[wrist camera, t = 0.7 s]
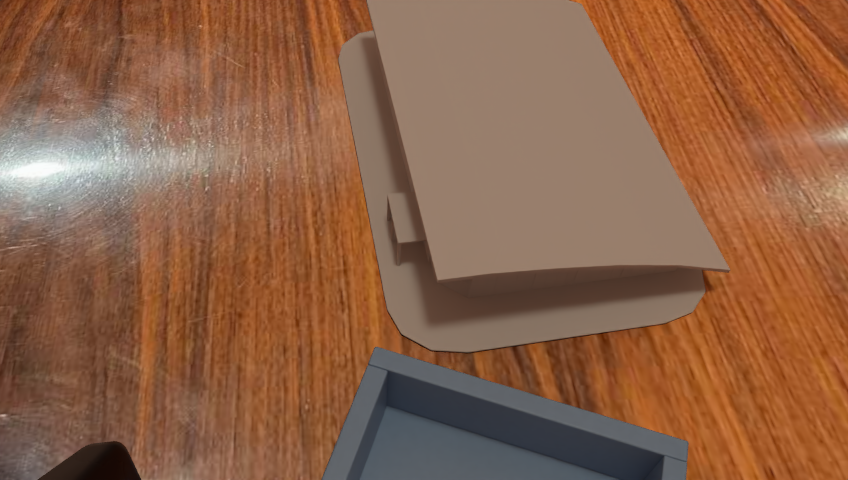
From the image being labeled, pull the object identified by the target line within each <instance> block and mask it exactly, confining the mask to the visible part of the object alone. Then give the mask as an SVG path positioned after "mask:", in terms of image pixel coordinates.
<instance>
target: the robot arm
mask: <svg viewBox="0 0 848 480" xmlns="http://www.w3.org/2000/svg"><path fill="white" fill-rule="evenodd" d="M38 480H141V478H140V476H139V474H138V472H137V470H136V468H135V465H134V463H133V461H132V459H131V457H130V455H129V453H128V451H127V449H126V447H125V446H124V445H123V444H122V443H120V442H117V441H112V442H103V443H94V444H89V445H87V446H85V447H83V448H82V449H80V450H79V451H77V452H76V453H75V454H73V455H72V456H70V457H69V458H68V459H66V460H65V461H63V462H62V463H60V464H59V465H58V466H56V467H55V468H53V469H52V470H51V471H49V472H48V473H46V474H45V475H43V476H42V477H41V478H39V479H38Z"/></svg>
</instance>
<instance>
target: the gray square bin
mask: <svg viewBox="0 0 848 480" xmlns="http://www.w3.org/2000/svg"><path fill="white" fill-rule="evenodd" d="M687 455H688V442H687V441H685V440H682V439H678V438H675V437H672V436H668V435H665V434H662V433H659V432H655V431H652V430H649V429H645V428H642V427H639V426H635V425H632V424H629V423H626V422H622V421H619V420H616V419H612V418H609V417H606V416H603V415H599V414H596V413H593V412H589V411H586V410H583V409H580V408H576V407H573V406H570V405H566V404H563V403H560V402H556V401H553V400H550V399H547V398H543V397H540V396H537V395H533V394H530V393H527V392H524V391H520V390H517V389H514V388H510V387H507V386H504V385H501V384H497V383H494V382H491V381H487V380H484V379H481V378H477V377H474V376H471V375H468V374H464V373H461V372H458V371H454V370H451V369H448V368H445V367H441V366H438V365H435V364H431V363H428V362H425V361H422V360H418V359H415V358H412V357H408V356H405V355H402V354H398V353H395V352H392V351H389V350H385V349H382V348H379V347H375V348H374V350H373V353H372V355H371V358H370V360H369V363H368V366H367V368H366V370H365V373H364V375H363V378H362V380H361V383H360V385H359V388H358V390H357V393H356V395H355V398H354V400H353V403H352V405H351V408H350V410H349V413H348V415H347V417H346V420H345V422H344V425H343V427H342V430H341V432H340V435H339V437H338V440H337V442H336V445H335V447H334V450H333V452H332V455H331V457H330V460H329V462H328V465H327V467H326V470H325V472H324V475H323V477H322V479H321V480H686V471H687V463H686V462H687Z"/></svg>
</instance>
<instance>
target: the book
mask: <svg viewBox="0 0 848 480" xmlns="http://www.w3.org/2000/svg"><path fill="white" fill-rule="evenodd" d="M366 2H367V6H368V10H369V14H370V18H371V22H372V26H373V31H368V32H364V33H359V34H357V35H356V36H354V37H353V38H351V39H350V40H349V41H347V42H346V43H344V44H343V45H342V48H341V51H340V55H339V59H338V60H339V66H340V71H341V76H342V81H343V86H344V91H345V96H346V101H347V106H348V112H349V117H350V122H351V127H352V132H353V137H354V142H355V147H356V153H357V158H358V163H359V168H360V173H361V178H362V183H363V188H364V194H365V199H366V204H367V209H368V214H369V219H370V224H371V229H372V234H373V240H374V245H375V250H376V255H377V260H378V265H379V270H380V275H381V281H382V286H383V291H384V296H385V301H386V306H387V311H388V312H389V314H390V316H391V317H392V319H393V321H394V322H395V324H396V326H397V328H398V329H399V331H400V333H401V334H402V335H403V336H405V337H407V338H409V339H411V340H413V341H414V342H416V343H418V344H420V345H422V346H424V347H426V348H427V349H429V350H431V351H448V352H464V353H469V352H476V351H483V350H489V349H496V348H503V347H510V346H516V345H523V344H530V343H537V342H544V341H550V340H557V339H564V338H571V337H578V336H584V335H591V334H598V333H605V332H611V331H618V330H625V329H632V328H639V327H645V326H652V325H659V324H665V323H667V322H670V321H672V320H675V319H677V318H680V317H682V316H685V315H687V314H690V313H692V312H693V310H694V309H695V307H696V306H697V304H698V302H699V301H700V299H701V298H702V296H703V295H704V293H705V291H706V290H705V285H704V279H703V273H702V270H708V271H718V272H727V273H729V271H730V268H729V267H728V265H727V263H726V261H725V260H724V258H723V256H722V254H721V252H720V251H719V249H718V247H717V245H716V243H715V242H714V240H713V238H712V236H711V235H710V233H709V231H708V229H707V227H706V226H705V224H704V222H703V220H702V218H701V217H700V215H699V213H698V211H697V209H696V208H695V206H694V204H693V202H692V201H691V199H690V197H689V195H688V193H687V192H686V190H685V188H684V186H683V184H682V183H681V181H680V179H679V177H678V176H677V174H676V172H675V170H674V168H673V167H672V165H671V163H670V161H669V159H668V158H667V156H666V154H665V152H664V151H663V149H662V147H661V145H660V143H659V142H658V140H657V138H656V136H655V134H654V133H653V131H652V129H651V127H650V126H649V124H648V122H647V120H646V118H645V117H644V115H643V113H642V111H641V109H640V108H639V106H638V104H637V102H636V101H635V99H634V97H633V95H632V93H631V92H630V90H629V88H628V86H627V84H626V83H625V81H624V79H623V77H622V76H621V74H620V72H619V70H618V68H617V67H616V65H615V63H614V61H613V59H612V58H611V56H610V54H609V52H608V51H607V49H606V47H605V45H604V43H603V42H602V40H601V38H600V36H599V34H598V33H597V31H596V29H595V27H594V26H593V24H592V22H591V20H590V18H589V17H588V15H587V13H586V11H585V9H584V8H583V6H582V4H580V3H576V2H572V1H569V0H366Z"/></svg>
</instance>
